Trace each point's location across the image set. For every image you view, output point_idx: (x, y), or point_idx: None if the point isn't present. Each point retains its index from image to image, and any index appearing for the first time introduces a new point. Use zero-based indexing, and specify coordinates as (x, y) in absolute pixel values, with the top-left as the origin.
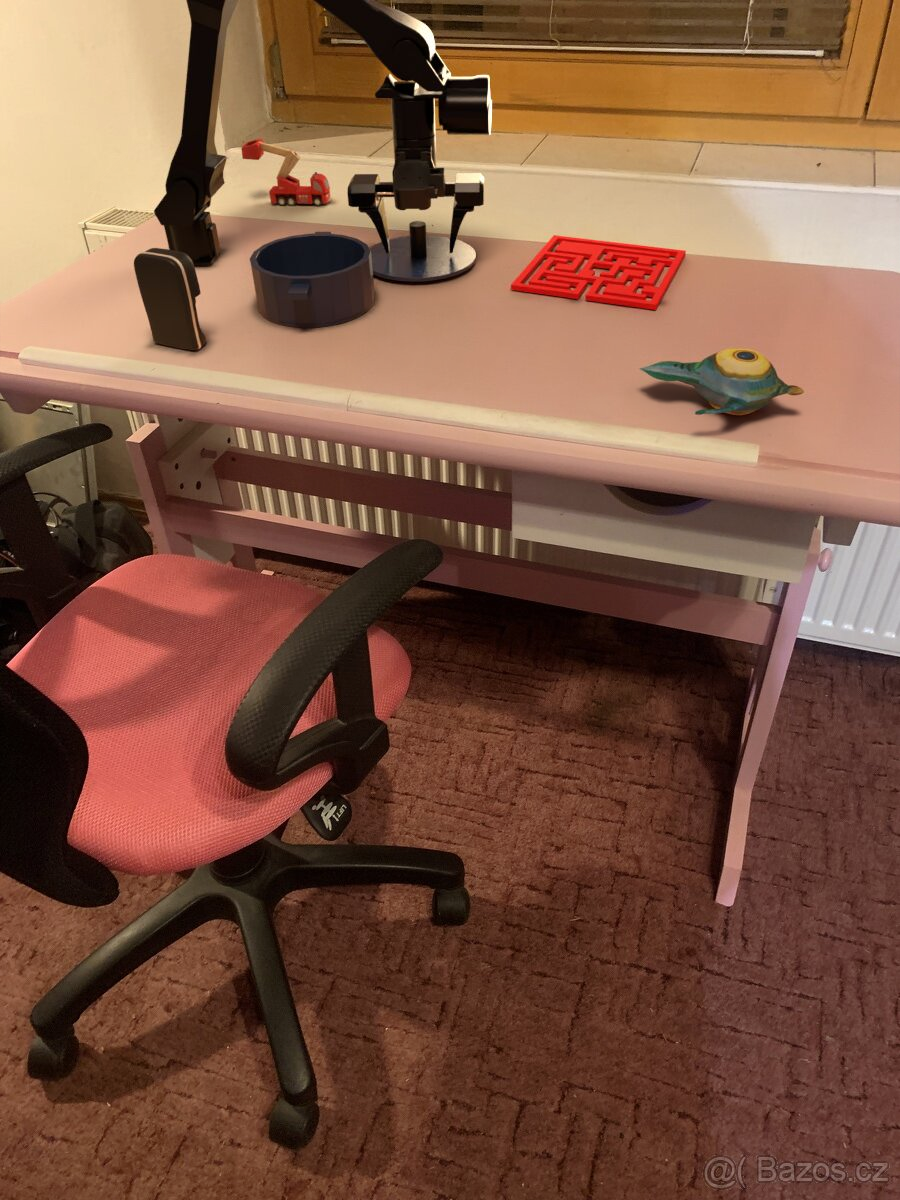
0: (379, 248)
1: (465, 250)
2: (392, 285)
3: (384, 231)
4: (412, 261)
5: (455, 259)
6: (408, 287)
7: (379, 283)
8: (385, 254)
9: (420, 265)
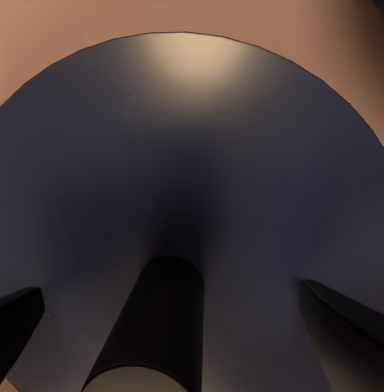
0: None
1: None
2: None
3: (378, 338)
4: (188, 225)
5: (21, 251)
6: (181, 28)
7: (310, 63)
8: None
9: (147, 183)
